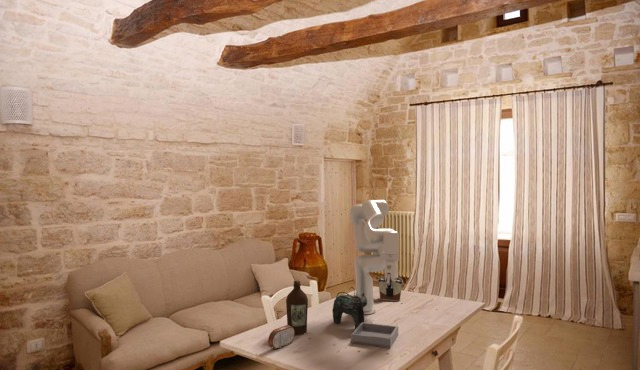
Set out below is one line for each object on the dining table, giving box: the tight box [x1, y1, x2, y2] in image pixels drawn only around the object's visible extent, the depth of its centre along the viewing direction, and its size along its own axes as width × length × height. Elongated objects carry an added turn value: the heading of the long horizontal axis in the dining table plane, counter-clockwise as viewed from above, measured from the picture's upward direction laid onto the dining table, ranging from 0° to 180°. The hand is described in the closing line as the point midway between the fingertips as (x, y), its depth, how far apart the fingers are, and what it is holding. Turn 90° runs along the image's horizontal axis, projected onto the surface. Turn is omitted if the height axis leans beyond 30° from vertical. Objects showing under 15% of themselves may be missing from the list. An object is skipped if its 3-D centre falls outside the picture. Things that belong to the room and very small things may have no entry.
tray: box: [350, 322, 399, 349], centre depth 212 cm, size 18×18×4 cm
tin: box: [267, 324, 296, 350], centre depth 204 cm, size 15×3×8 cm, turn 141°
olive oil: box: [285, 279, 309, 336], centre depth 222 cm, size 11×11×25 cm
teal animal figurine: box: [332, 286, 367, 329], centre depth 230 cm, size 20×6×20 cm, turn 47°
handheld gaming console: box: [377, 282, 400, 303], centre depth 279 cm, size 9×12×10 cm
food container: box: [376, 276, 404, 302], centre depth 217 cm, size 12×6×10 cm, turn 73°
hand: (390, 294), depth 217 cm, fingers closed on food container, 5 cm apart
